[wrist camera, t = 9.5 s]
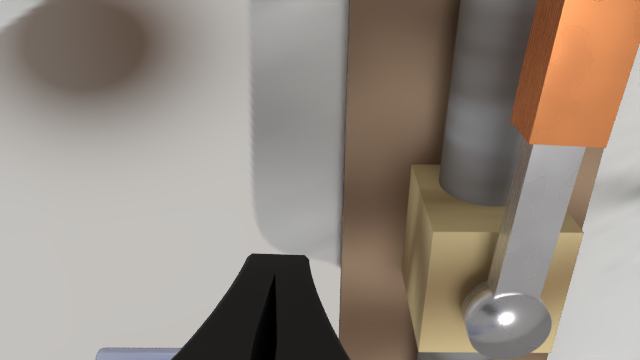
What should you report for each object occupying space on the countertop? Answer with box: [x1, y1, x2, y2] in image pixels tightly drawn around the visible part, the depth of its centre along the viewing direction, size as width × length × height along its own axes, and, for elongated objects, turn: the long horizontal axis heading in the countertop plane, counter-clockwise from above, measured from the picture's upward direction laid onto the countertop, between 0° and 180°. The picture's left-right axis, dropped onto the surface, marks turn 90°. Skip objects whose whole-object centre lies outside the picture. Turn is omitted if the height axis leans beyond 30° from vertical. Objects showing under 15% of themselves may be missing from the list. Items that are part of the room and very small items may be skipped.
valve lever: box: [461, 0, 640, 360], centre depth 16 cm, size 13×3×2 cm, turn 177°
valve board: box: [339, 0, 604, 360], centre depth 22 cm, size 24×10×6 cm, turn 0°
